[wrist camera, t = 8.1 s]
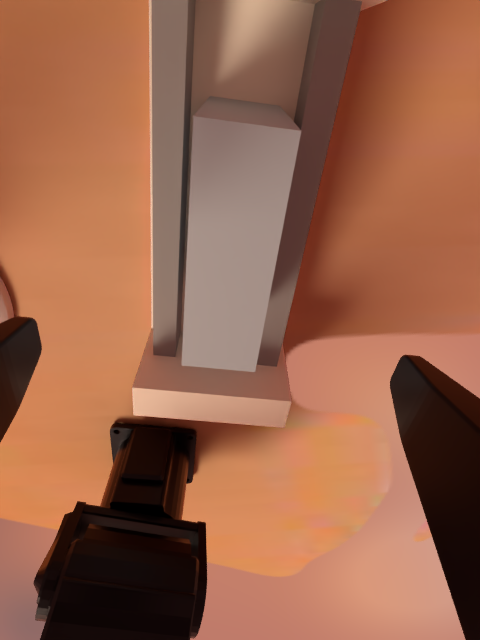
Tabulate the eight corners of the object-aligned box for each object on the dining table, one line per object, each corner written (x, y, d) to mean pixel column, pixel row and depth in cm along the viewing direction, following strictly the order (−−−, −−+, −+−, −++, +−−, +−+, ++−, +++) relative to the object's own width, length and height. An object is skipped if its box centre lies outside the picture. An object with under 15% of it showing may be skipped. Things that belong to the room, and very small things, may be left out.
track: (275, 356, 26) (284, 427, 21) (154, 344, 25) (133, 415, 20) (368, -54, 14) (436, -113, 9) (153, -91, 14) (105, -175, 9)
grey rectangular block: (251, 288, 21) (256, 372, 16) (196, 282, 21) (180, 365, 15) (281, 106, 16) (302, 131, 11) (208, 95, 16) (191, 115, 10)
